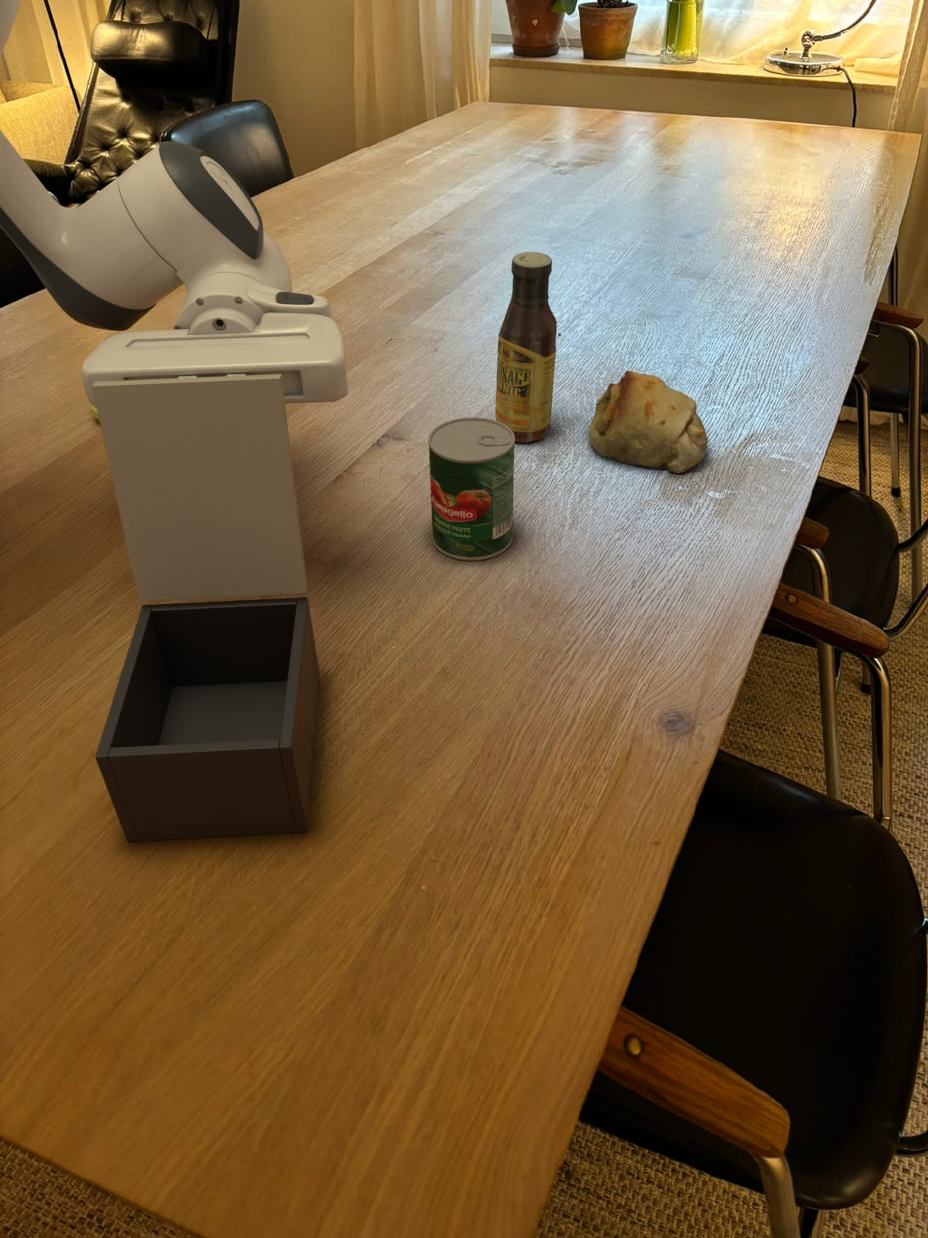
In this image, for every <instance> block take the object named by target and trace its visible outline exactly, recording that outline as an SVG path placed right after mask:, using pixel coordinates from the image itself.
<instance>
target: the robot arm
mask: <svg viewBox="0 0 928 1238" xmlns="http://www.w3.org/2000/svg"><path fill="white" fill-rule="evenodd" d="M19 3H20V0H0V58H1V57H2V55H3V52H4V50H5V47H6V45H7V42H8V40H9V37H10V35H11V33H12V32H11V31H12V30H13V26H14V23H15V20H16V17H17V13H18V8H19ZM120 174H121V175H119V176H118V177H117V178H115V179H114V180H113V181H111V182H110V183H109V184H107V185H106V186H105V187H103V188H102V189H101V190H99V191H98V192H97V193H96V194H94V195H93V196H92V197H90V198H89V199H87V200H86V201H85V202H84V203H82V204H81V205H80V206H77V207H66V206H63V205H61V204H60V203H58V202H57V201H56V200H55V198H53V196H52V194H51V193H50V192H49V191H48V190H47V189H46V187H45V186H44V184H43V183H42V182H41V181H40V179H39V178H38V177H37V175H36V174H35V173H34V171H33V170H32V169H31V167H30V166H29V165H28V164H27V162H26V161H25V160H24V159H23V157H22V156H21V155H20V153H19V152H18V150H16V148H15V147H14V145H13V144H12V143H11V141H9V139H8V138H7V137H6V135H5V134H4V133H3V131H2V130H1V129H0V228H1V230H2V231H3V232H4V234H6V236H7V237H8V238H9V239H10V240H11V242H12V243H13V244H14V245H15V246H16V247H17V249H18V250H19V251H20V252H21V254H22V255H23V257H24V258H25V259H26V260H27V262H28V263H29V265H30V267H31V268H32V270H33V271H34V272H35V274H36V276H37V278H39V280H40V281H41V283H42V285H43V286H44V287H45V289H46V290H47V292H48V293H49V295H50V297H52V299H53V301H54V302H55V303H56V304H57V305H58V307H60V309H61V310H62V311H63V312H64V313H65V314H66V315H67V316H68V317H69V318H71V319H72V320H73V321H74V322H77V323H78V324H81V325H84V326H86V327H90V328H93V329H99V330H103V331H111V332H115V333H116V334H114V333H112V334H113V335H111V334H110V335H111V336H109V335H108V336H109V337H108V336H107V337H105V338H104V339H103V340H102V341H101V342H100V343H99V344H98V345H97V346H96V347H95V348H94V349H93V350H92V351H91V352H90V354H89V355H88V356H87V357H86V359H85V360H84V362H82V363H83V364H82V365H81V368H80V374H81V378H82V379H81V380H82V383H83V388H84V390H85V393H86V397H87V400H88V402H89V403H90V405H93V406H94V407H95V408H96V409H97V407H96V402H95V398H94V393H93V389H92V385H93V384H94V383H95V382H103V381H127V380H151V379H175V378H199V377H223V376H247V375H270V374H281V375H282V384H283V392H284V400H285V405H286V404H287V405H288V404H289V405H290V404H312V403H313V404H314V403H335V402H339V401H341V400H343V399H344V398H345V397H347V396H348V394H349V385H348V373H347V362H346V355H345V345H344V340H343V335H342V332H341V328H340V327H339V325H338V323H337V322H336V321H335V320H334V319H333V315H332V310H331V307H330V304H329V300H328V298H326V297H325V296H321V295H316V294H314V295H313V294H308V293H307V294H306V293H300V292H299V293H298V292H293V284H292V283H293V281H292V276H291V271H290V268H289V263H288V261H287V259H286V256H285V254H284V253H283V251H282V249H281V248H280V247H279V245H278V244H277V243H276V241H275V240H274V239H273V238H272V237H271V236H270V235H269V234H267V233H266V232H265V231H264V225H263V224H264V223H263V219H262V216H261V214H260V212H259V210H258V208H257V206H256V205H255V203H254V201H253V199H252V198H251V196H250V194H249V193H248V191H247V190H246V188H245V187H244V185H243V184H242V183H241V181H240V180H239V179H238V178H237V177H236V175H235V174H234V173H233V172H232V170H231V169H229V167H228V166H227V165H226V164H224V163H223V161H221V160H220V159H219V158H218V157H216V156H215V155H213V154H211V153H210V152H207V151H204V150H202V149H200V148H198V147H195V146H192V145H189V144H186V143H183V142H177V141H171V140H169V141H162V142H160V143H159V145H157V146H156V147H154V148H153V149H151V150H150V151H149V152H148V153H145V155H143V156H142V157H141V158H139V159H138V160H136V161H135V162H134V163H132V164H131V165H130V166H129V167H127V168H126V169H125V170H123V171H122V172H121V173H120ZM183 285H184V286H185V288H186V293H185V297H184V299H183V302H182V304H181V307H180V310H179V312H178V314H177V317H176V319H175V322H174V325H173V329H154V330H153V329H151V330H149V329H148V330H129V329H131V328H132V327H133V326H134V325H135V324H136V323H138V322H139V321H140V320H141V319H142V318H143V317H145V316H146V315H147V314H148V313H149V312H151V311H152V309H154V308H155V307H156V305H157V303H159V302H161V301H162V300H163V299H164V298H166V297H168V296H169V295H171V294H172V293H173V292H174V291H176V290H177V289H179V288H180V287H182V286H183ZM128 330H129V331H128ZM117 332H121V333H117Z"/></svg>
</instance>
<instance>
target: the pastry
mask: <svg viewBox="0 0 928 1238" xmlns="http://www.w3.org/2000/svg"><path fill="white" fill-rule="evenodd" d="M697 408H698V407H697V402H696V400H695V399H694V398H692V397H690V396H689V395H686V394H685V393H684V392H682V391H679V390H676V389H674V388H671V387H670V386H668V385H667V384H666V382H664V380H663V378H661V377H659V376H656V375H654V374H646V373H640V372H635V371H632V370H629V369H628V370H626V371H625V373H624V375H623V376H621V378H620V380H619V381H618V382H617V383H616V384H615V383H609V384H608V385H607V388H606V390H604V392H603V393H602V396H600V397H599V398H598V400H597V402H596V405H595V411H594V414H593V418H592V419H591V423H590V426H589V430H588V437H589V441H590V444H591V445H592V447H593V448H594V449H595V451H596V452H597V453H598V454H600V455H601V456H602V457H605V458H609V459H610V460H613V461H617V462H619V463H622V464H628V465H634V466H641V467H645V468H650V469H661V470H662V469H667V471H668V472H669V473H676V474H682V473H685V472H687V471H688V470H690V469H691V468H692V467H694V466H696V465H697V464H699V463H700V462H701V461H702V460H703V458H704V456H705V454H706V453H707V448H708V440H709V439H708V435H707V431H706V428H705V426H704V424H703V421H702V419H701V418H700V416H699V414H698V413H697V410H698V409H697Z"/></svg>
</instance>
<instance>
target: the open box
mask: <svg viewBox="0 0 928 1238" xmlns="http://www.w3.org/2000/svg"><path fill="white" fill-rule="evenodd" d="M319 668H320V667H319V661H318V655H317V649H316V641H315V635H314V629H313V623H312V616H311V610H310V604H309V598H308V597H307V596H298V597H281V598H279V597H278V598H261V599H260V598H258V599H257V598H256V599H238V600H237V599H236V600H235V599H234V600H219V601H218V600H217V601H216V600H215V601H196V602H176V603H158V604H156V603H155V604H149V603H147V604H142V605H141V607H140V612H139V614H138V617H137V621H136V624H135V628H134V630H133V634H132V637H131V640H130V643H129V647H128V650H127V653H126V657H125V660H124V663H123V666H122V669H121V673H120V675H119V679H118V682H117V684H116V685H117V686H116V689H115V692H114V695H113V699H112V702H111V704H110V708H109V711H108V714H107V717H106V721H105V724H104V727H103V729H102V732H101V733H102V734H101V738H100V740H99V744H98V747H97V750H96V753H95V756H94V758H95V761H96V763H97V766H98V768H99V769H98V770H99V771H100V774H101V777H102V779H103V781H104V784H105V787H106V789H107V792H108V795H109V798H110V800H111V803H112V805H113V808H114V811H115V813H116V816H117V819H118V821H119V823H120V826H121V829H122V831H123V834H124V837H125V839H126V842H128V843H132V842H133V843H134V842H135V843H136V842H152V841H153V842H154V841H170V840H188V839H191V840H192V839H203V838H204V839H205V838H206V839H208V838H224V837H245V836H261V835H262V836H263V835H280V834H282V835H283V834H296V833H297V834H298V833H300V834H301V833H308V831H309V821H310V812H311V811H310V810H311V797H312V788H313V787H312V785H313V775H314V774H313V773H314V762H315V750H316V738H317V727H318V715H319V702H320V691H321V673H320V669H319Z"/></svg>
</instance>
